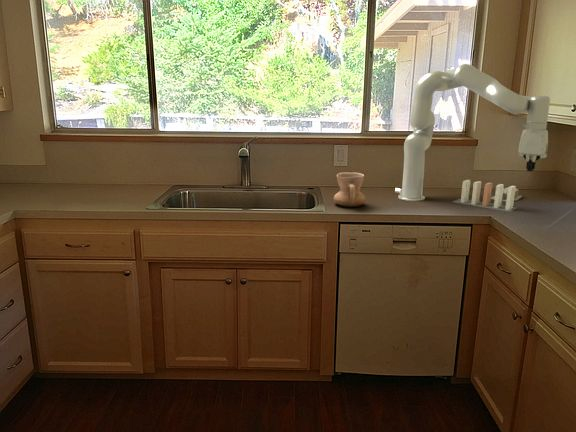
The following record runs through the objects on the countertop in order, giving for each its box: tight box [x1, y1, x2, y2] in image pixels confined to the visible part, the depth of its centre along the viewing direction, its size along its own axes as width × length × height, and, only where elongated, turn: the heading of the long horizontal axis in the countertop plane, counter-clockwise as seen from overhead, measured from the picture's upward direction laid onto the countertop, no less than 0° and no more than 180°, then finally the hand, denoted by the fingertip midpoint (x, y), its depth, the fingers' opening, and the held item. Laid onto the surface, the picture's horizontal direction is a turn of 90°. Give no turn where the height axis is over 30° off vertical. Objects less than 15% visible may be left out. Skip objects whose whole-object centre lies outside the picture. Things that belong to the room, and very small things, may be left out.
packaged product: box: [491, 186, 523, 202], centre depth 226 cm, size 18×5×10 cm
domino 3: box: [482, 182, 494, 206], centre depth 209 cm, size 2×5×10 cm, turn 136°
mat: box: [452, 197, 518, 213], centre depth 211 cm, size 26×10×1 cm, turn 47°
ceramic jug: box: [333, 172, 366, 208], centre depth 209 cm, size 18×14×14 cm
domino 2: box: [471, 180, 482, 204], centre depth 212 cm, size 2×5×10 cm, turn 137°
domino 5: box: [505, 185, 517, 210], centre depth 203 cm, size 2×5×10 cm, turn 138°
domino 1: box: [460, 179, 471, 203], centre depth 216 cm, size 2×5×10 cm, turn 137°
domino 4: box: [493, 183, 505, 208], centre depth 206 cm, size 2×5×10 cm, turn 137°
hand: (530, 170), depth 195 cm, fingers closed
